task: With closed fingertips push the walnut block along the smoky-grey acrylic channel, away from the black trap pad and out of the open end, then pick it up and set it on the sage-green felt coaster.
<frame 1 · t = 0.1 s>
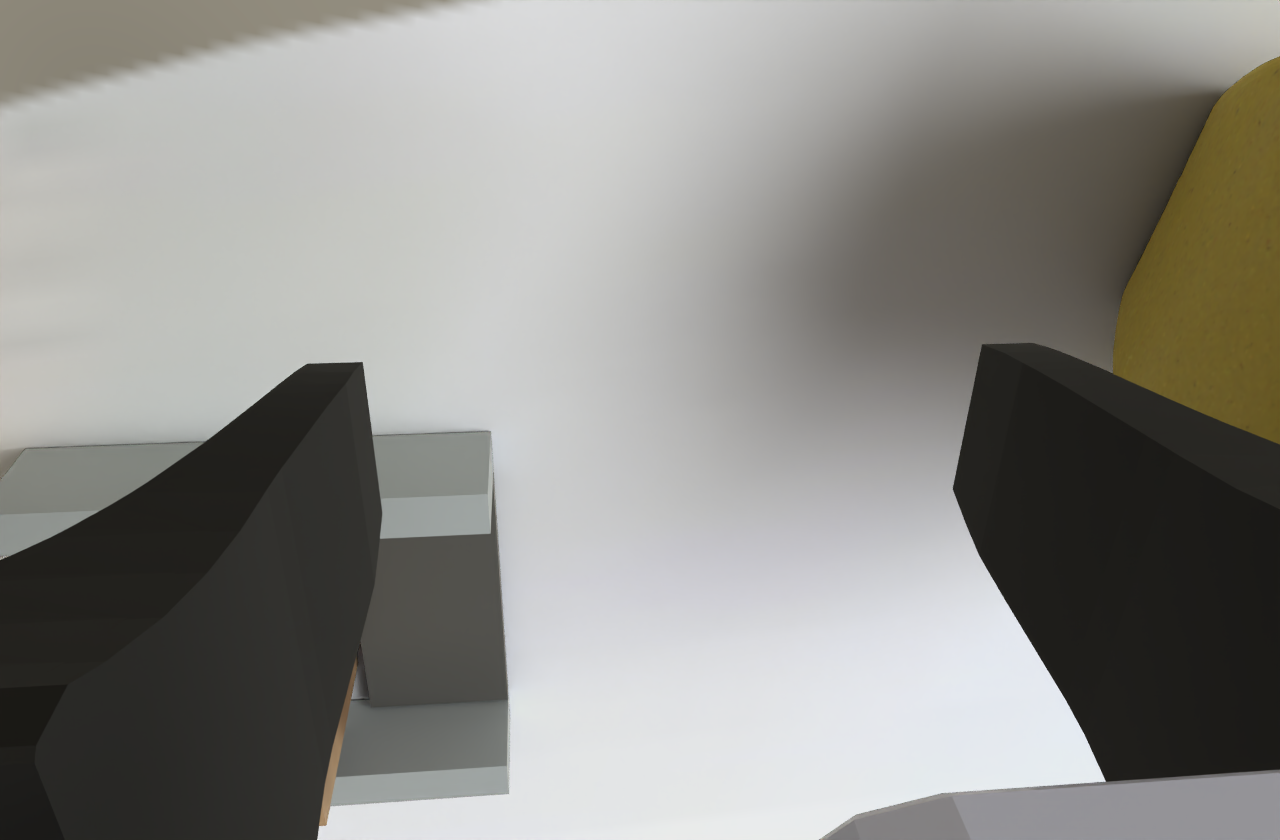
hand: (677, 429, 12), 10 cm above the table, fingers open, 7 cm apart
block: (252, 597, 25), on the table
goalpost shaped bracket: (293, 598, 25), on the table
flower pot: (1256, 222, 23), on the table
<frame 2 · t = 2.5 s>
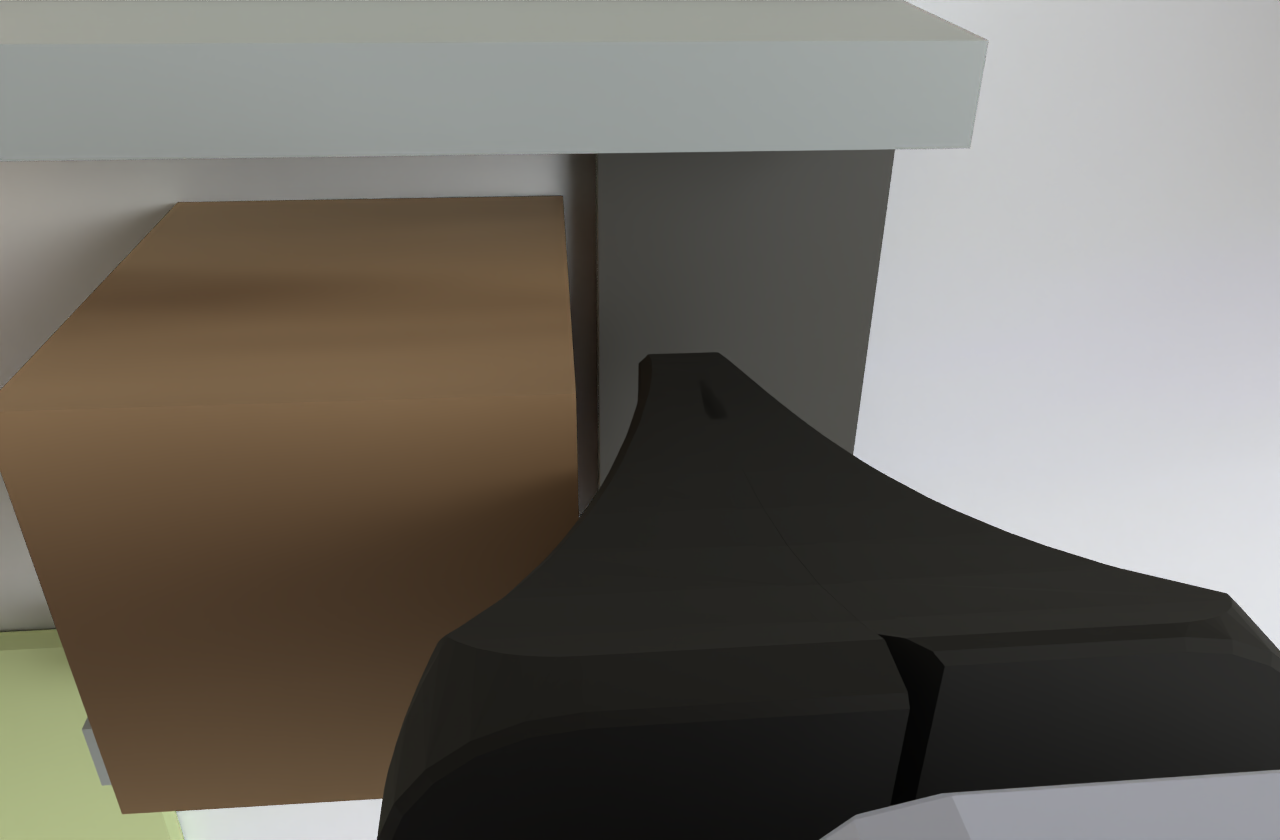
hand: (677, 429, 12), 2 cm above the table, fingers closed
block: (393, 367, 13), on the table, touching gripper
goalpost shaped bracket: (482, 368, 14), on the table
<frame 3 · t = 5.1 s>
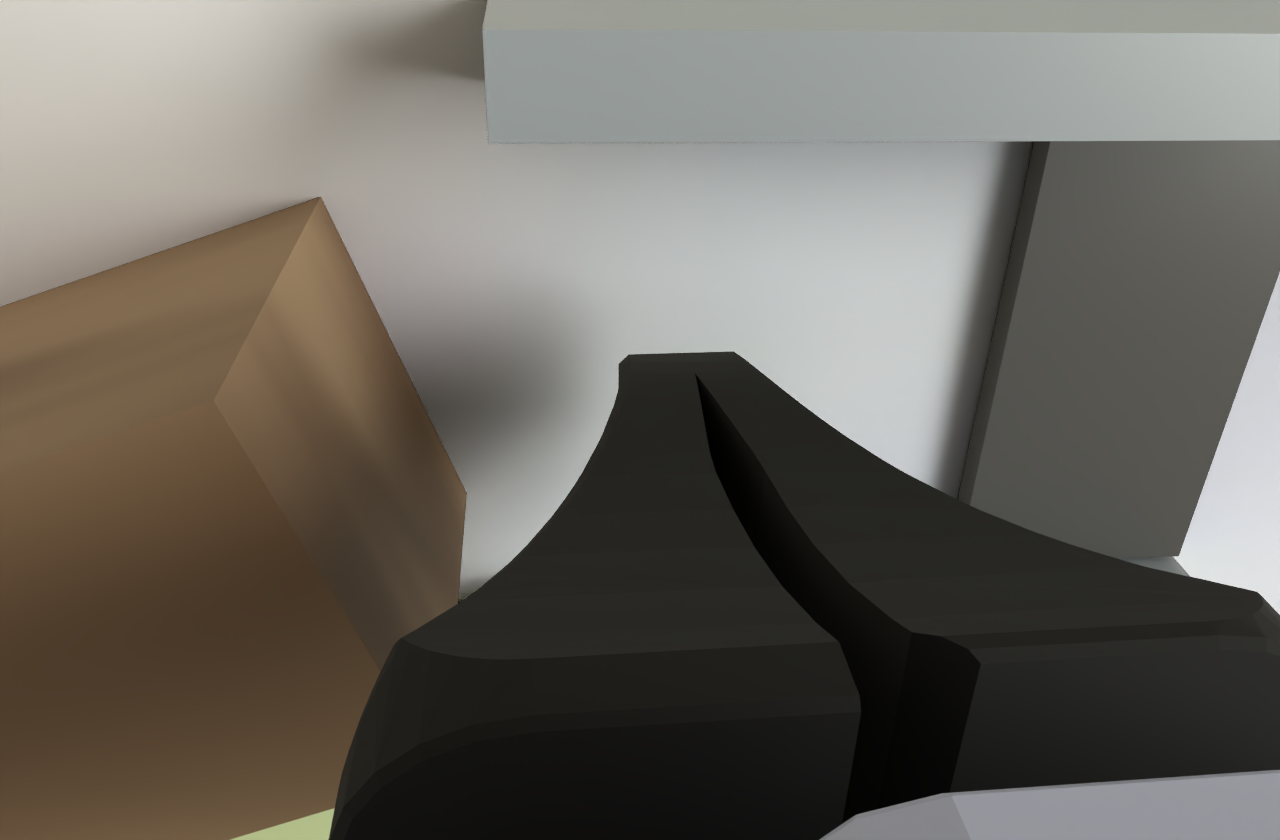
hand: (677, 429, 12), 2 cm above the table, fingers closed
block: (239, 408, 13), on the table
coaster: (305, 756, 17), on the table
goalpost shaped bracket: (882, 351, 14), on the table
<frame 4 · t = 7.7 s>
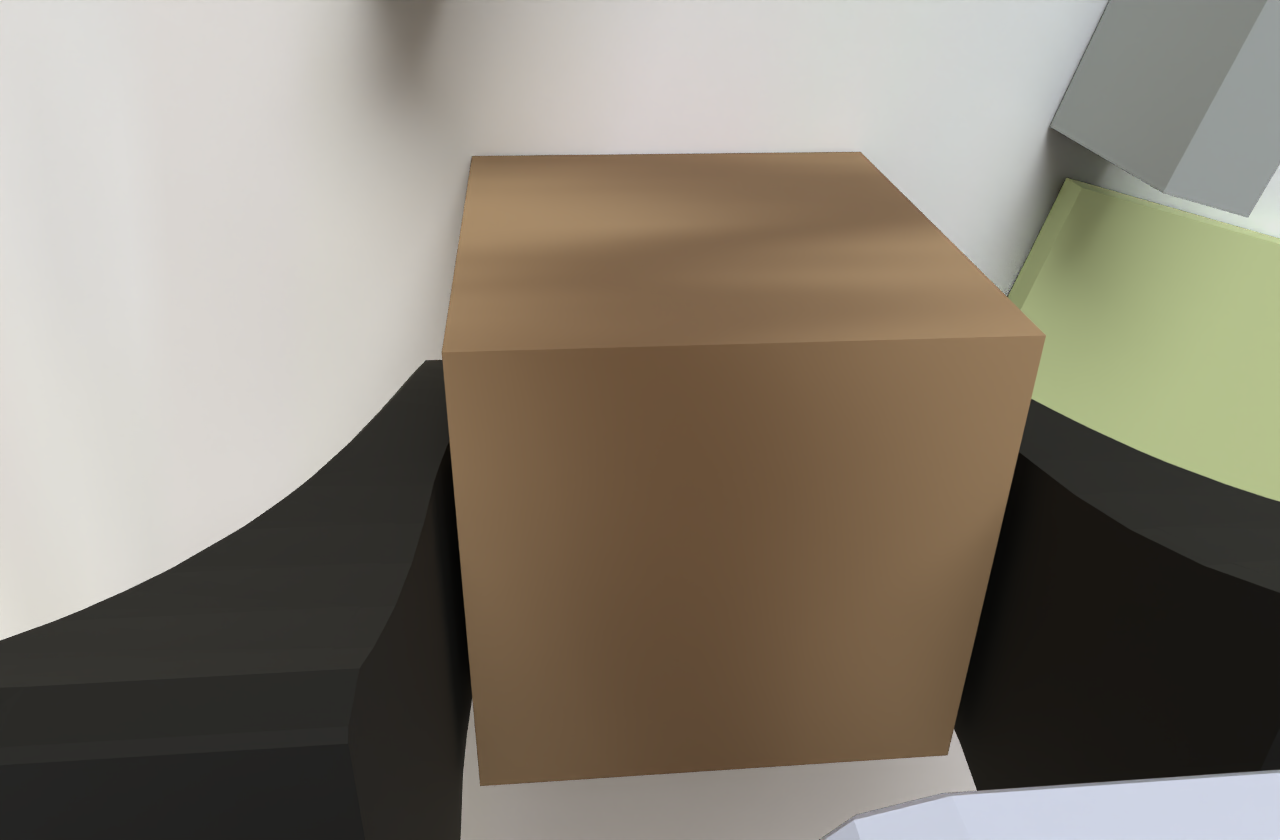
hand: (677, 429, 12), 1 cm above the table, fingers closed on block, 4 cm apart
block: (664, 331, 13), on the table, touching gripper
coaster: (1150, 433, 15), on the table
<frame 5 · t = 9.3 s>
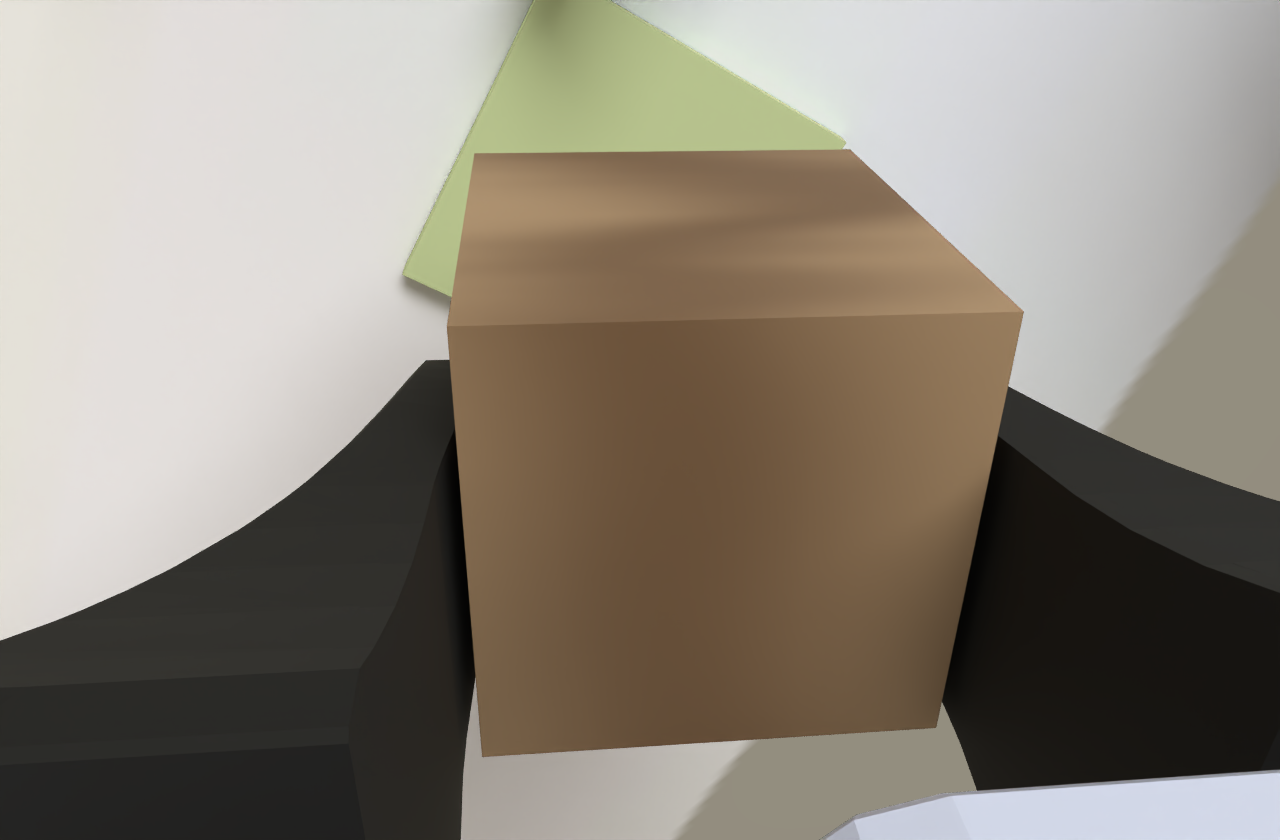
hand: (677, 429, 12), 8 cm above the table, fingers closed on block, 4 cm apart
block: (660, 325, 13), point 7 cm above the table, touching gripper
coaster: (620, 202, 19), on the table
when the fingers open (3 cm above the table, at t = 10.7 s): block stays where it is, resting on coaster.
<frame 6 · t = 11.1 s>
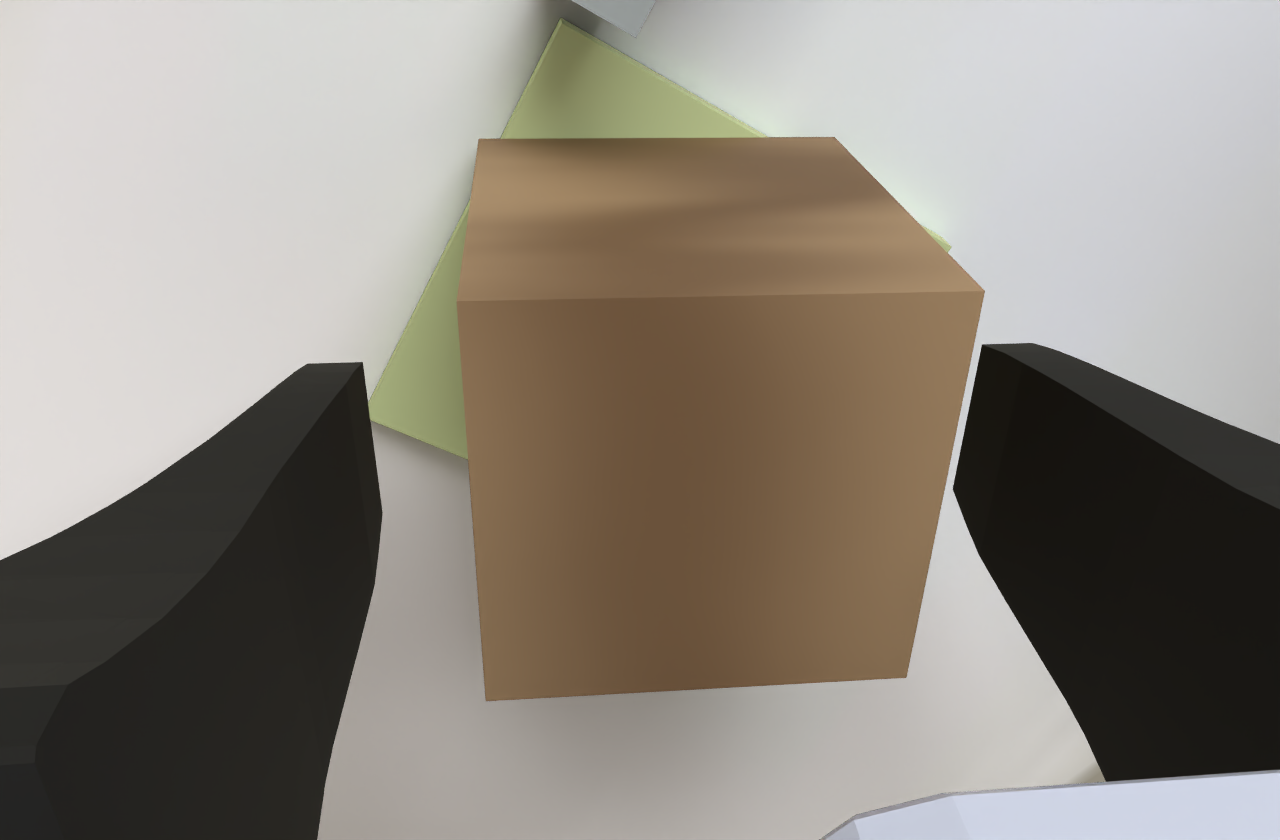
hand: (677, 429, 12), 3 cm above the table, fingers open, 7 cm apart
block: (654, 302, 14), resting on coaster
coaster: (650, 321, 15), on the table
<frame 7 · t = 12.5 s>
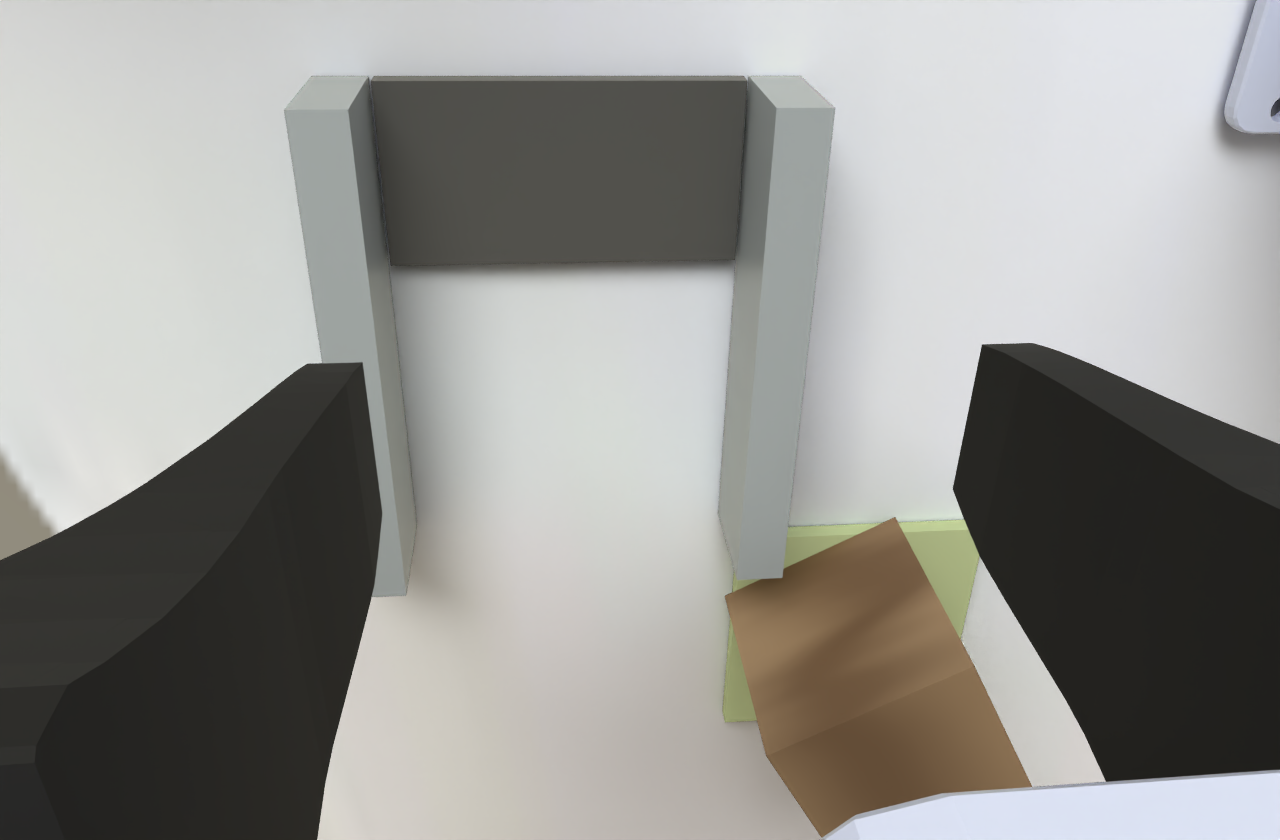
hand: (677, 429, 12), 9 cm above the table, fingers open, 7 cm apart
block: (842, 618, 26), resting on coaster
coaster: (845, 619, 27), on the table
goalpost shaped bracket: (566, 323, 22), on the table
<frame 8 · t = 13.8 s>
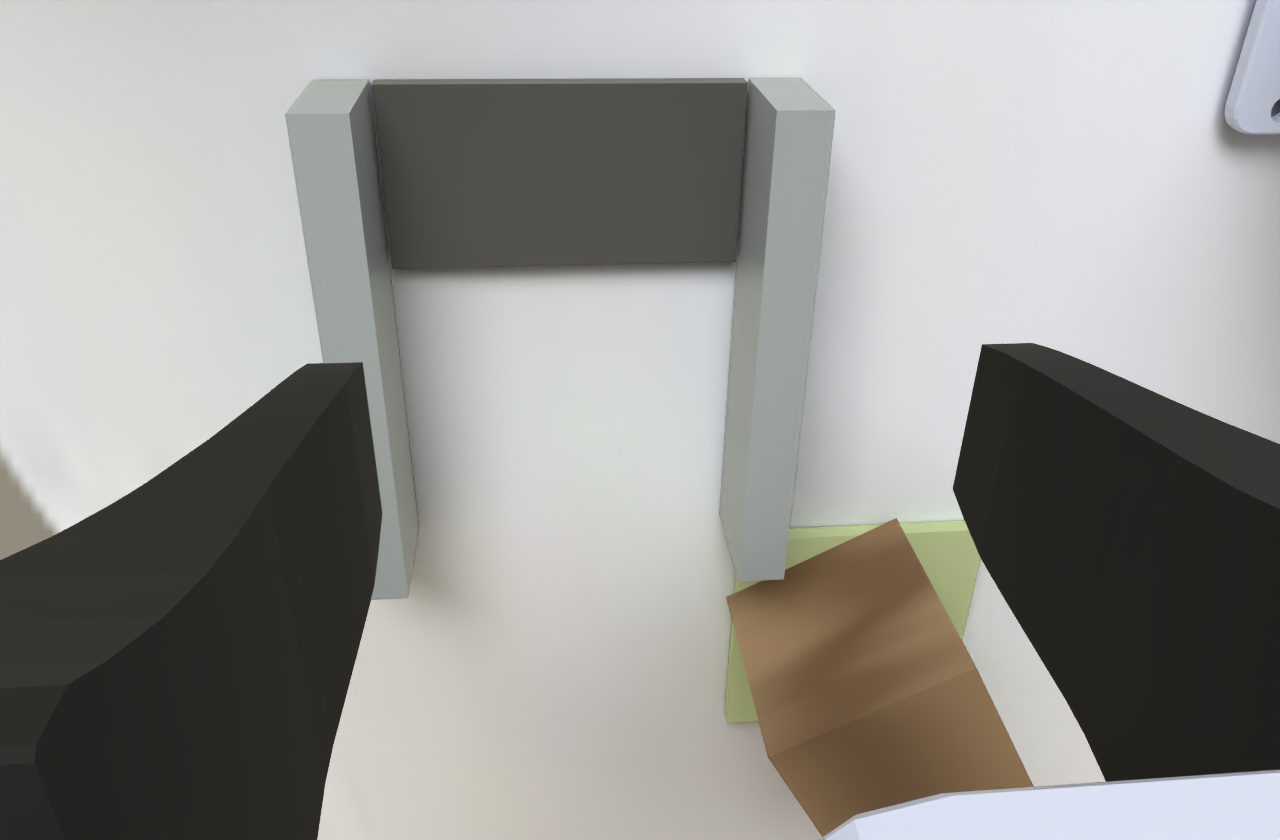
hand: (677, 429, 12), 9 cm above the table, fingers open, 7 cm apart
block: (844, 619, 26), resting on coaster
coaster: (846, 620, 27), on the table
goalpost shaped bracket: (567, 325, 22), on the table
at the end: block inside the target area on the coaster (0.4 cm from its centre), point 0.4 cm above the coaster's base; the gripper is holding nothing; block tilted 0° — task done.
